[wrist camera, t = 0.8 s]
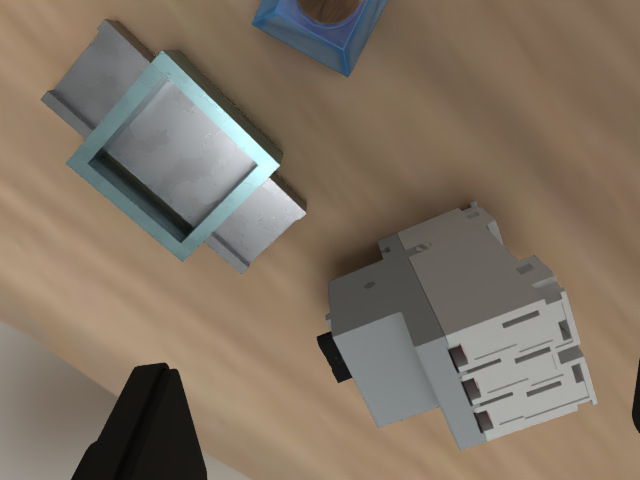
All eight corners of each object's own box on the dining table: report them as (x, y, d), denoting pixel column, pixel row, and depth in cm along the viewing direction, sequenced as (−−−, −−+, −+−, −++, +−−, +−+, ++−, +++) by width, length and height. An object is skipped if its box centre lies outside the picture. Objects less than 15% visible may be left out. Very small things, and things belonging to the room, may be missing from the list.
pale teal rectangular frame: (132, 4, 32) (108, -2, 29) (320, 190, 37) (321, 206, 34) (44, 111, 35) (13, 119, 31) (232, 274, 40) (224, 297, 36)
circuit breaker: (307, 269, 40) (305, 388, 26) (474, 200, 38) (571, 289, 24) (343, 341, 42) (358, 484, 28) (501, 280, 40) (602, 401, 26)
